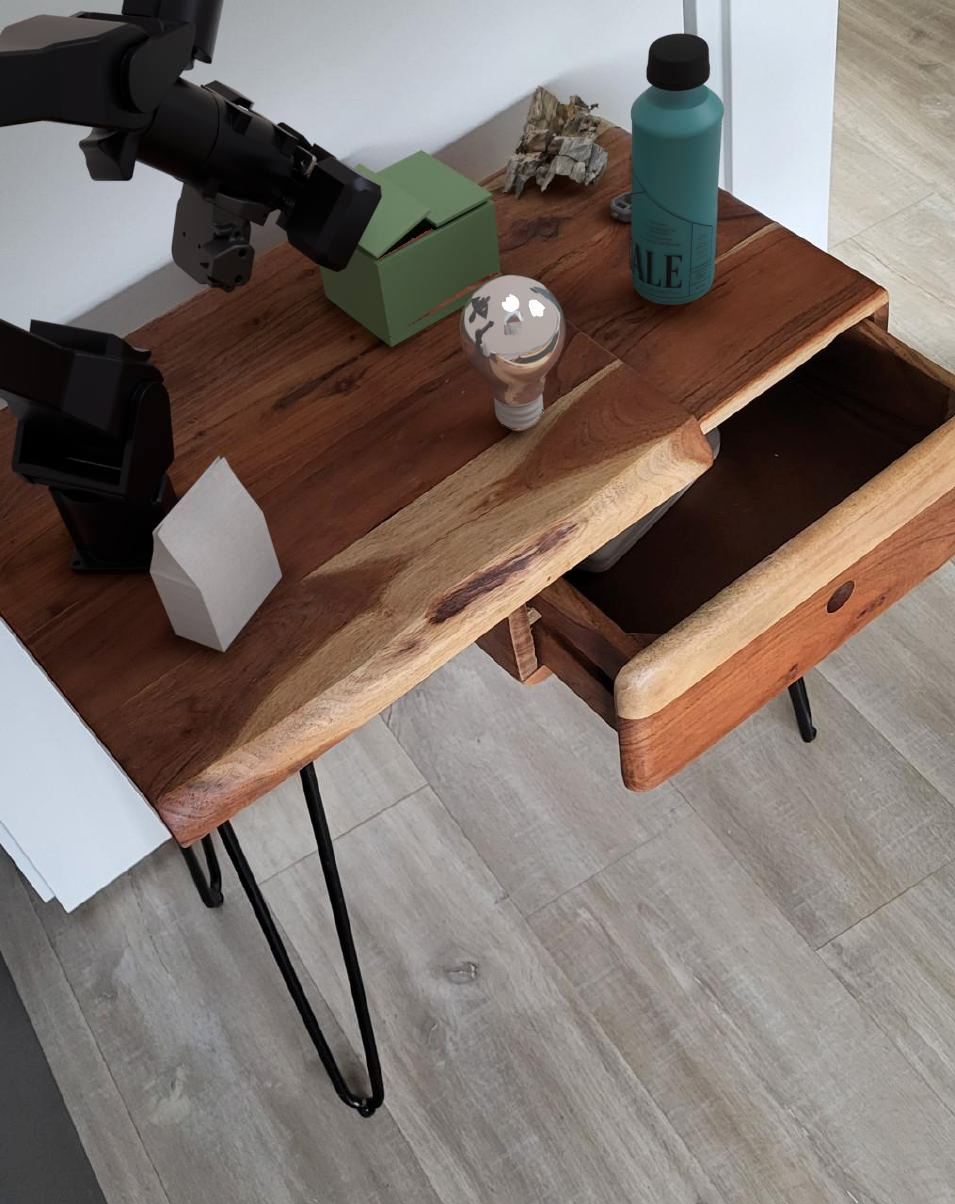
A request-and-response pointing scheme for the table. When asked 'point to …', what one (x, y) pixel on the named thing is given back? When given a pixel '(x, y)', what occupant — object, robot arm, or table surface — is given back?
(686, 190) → the beverage bottle
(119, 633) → the table surface
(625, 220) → the key
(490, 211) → the carton
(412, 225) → the flap
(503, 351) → the light bulb
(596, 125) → the rock
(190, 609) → the white milk carton
